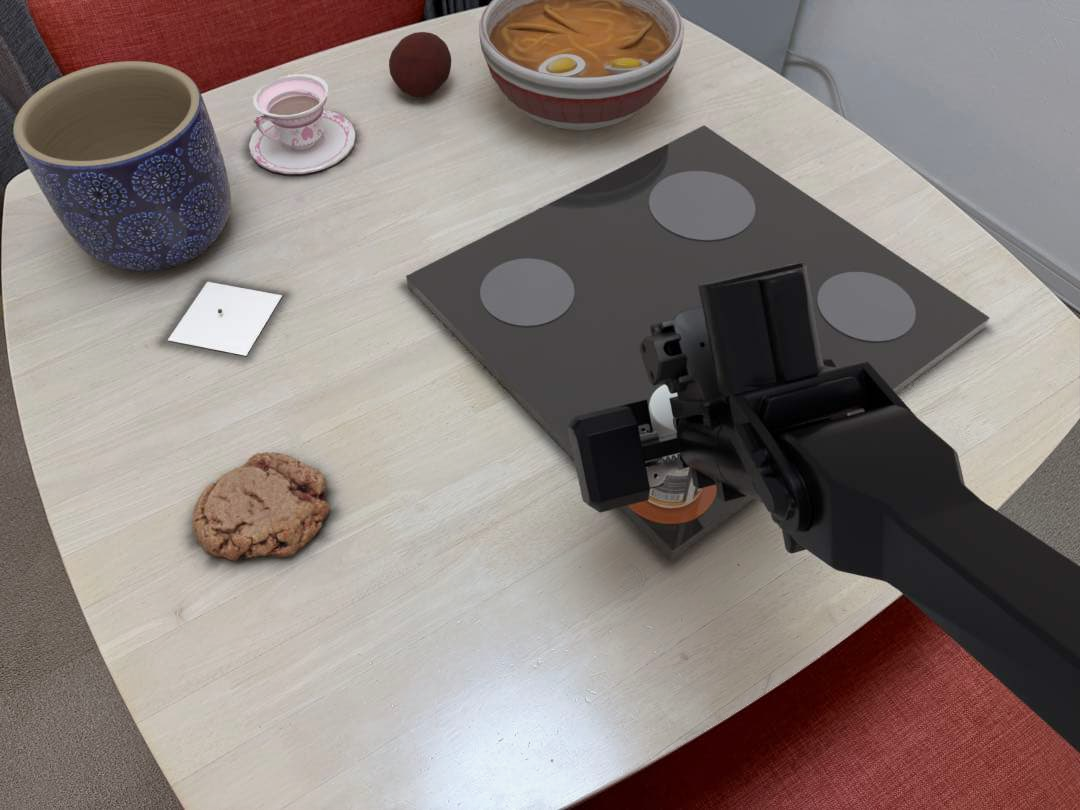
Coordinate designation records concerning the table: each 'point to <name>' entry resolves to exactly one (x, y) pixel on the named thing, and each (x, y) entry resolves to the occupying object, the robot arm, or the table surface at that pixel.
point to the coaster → (225, 318)
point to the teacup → (298, 127)
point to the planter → (128, 163)
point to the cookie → (261, 508)
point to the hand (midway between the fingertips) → (669, 418)
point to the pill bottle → (677, 482)
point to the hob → (674, 292)
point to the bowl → (580, 56)
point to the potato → (420, 64)
